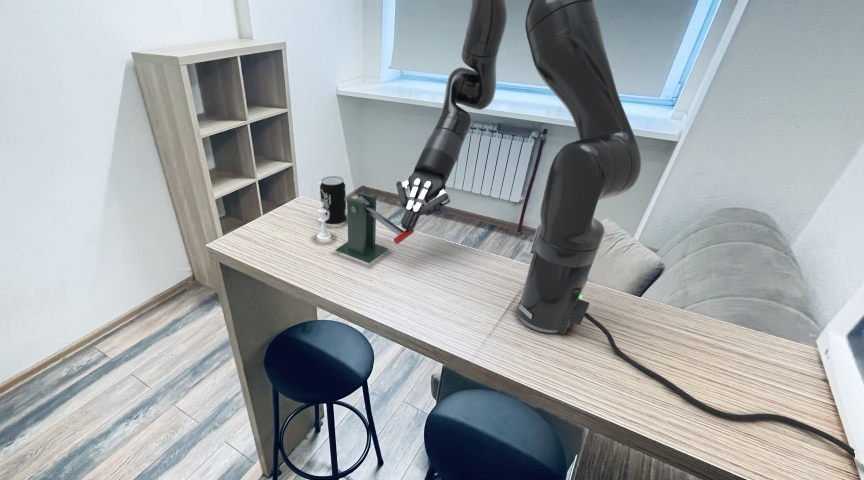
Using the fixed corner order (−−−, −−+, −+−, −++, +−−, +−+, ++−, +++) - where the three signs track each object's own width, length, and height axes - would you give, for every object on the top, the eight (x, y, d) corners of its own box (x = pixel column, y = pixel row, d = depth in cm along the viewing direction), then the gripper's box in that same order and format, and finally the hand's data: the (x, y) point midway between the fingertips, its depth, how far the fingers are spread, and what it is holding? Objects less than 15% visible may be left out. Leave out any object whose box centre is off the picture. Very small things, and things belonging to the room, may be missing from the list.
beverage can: (345, 227, 109) (344, 184, 102) (321, 227, 109) (318, 184, 102) (346, 216, 114) (345, 175, 107) (323, 217, 114) (320, 175, 107)
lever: (411, 235, 90) (415, 227, 88) (397, 246, 86) (401, 238, 84) (363, 201, 94) (366, 193, 92) (347, 210, 90) (350, 201, 88)
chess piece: (311, 242, 103) (308, 205, 97) (318, 233, 106) (315, 197, 101) (329, 245, 101) (327, 207, 96) (336, 235, 105) (334, 199, 99)
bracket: (388, 252, 98) (390, 196, 90) (369, 267, 93) (369, 209, 84) (355, 240, 103) (354, 186, 95) (335, 254, 98) (332, 198, 90)
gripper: (407, 141, 88) (373, 213, 87) (464, 152, 81) (428, 231, 80) (417, 159, 94) (386, 226, 94) (471, 171, 88) (438, 243, 87)
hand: (405, 228), depth 87 cm, fingers closed
